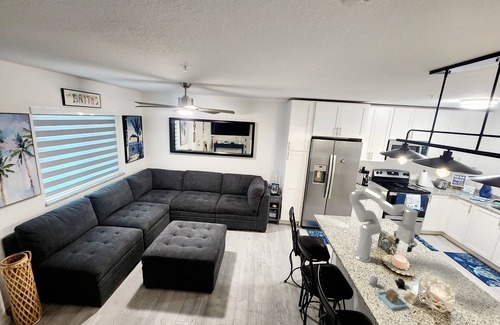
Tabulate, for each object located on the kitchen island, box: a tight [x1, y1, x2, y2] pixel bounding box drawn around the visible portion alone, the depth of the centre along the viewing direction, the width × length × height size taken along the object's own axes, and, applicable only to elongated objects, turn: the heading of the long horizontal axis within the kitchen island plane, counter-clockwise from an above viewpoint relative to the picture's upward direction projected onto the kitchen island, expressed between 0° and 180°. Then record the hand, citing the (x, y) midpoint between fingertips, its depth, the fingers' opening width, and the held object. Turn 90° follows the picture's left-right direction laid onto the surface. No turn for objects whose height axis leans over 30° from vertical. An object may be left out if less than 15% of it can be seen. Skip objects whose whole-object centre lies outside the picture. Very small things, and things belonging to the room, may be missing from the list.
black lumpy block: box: [394, 277, 408, 292], centre depth 150 cm, size 12×7×5 cm, turn 159°
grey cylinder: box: [369, 275, 379, 288], centre depth 149 cm, size 4×4×5 cm
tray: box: [375, 290, 408, 311], centre depth 136 cm, size 12×12×2 cm
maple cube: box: [403, 290, 418, 305], centre depth 137 cm, size 5×5×5 cm
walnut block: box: [385, 288, 399, 303], centre depth 136 cm, size 4×4×6 cm
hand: (402, 247), depth 148 cm, fingers open, 9 cm apart
